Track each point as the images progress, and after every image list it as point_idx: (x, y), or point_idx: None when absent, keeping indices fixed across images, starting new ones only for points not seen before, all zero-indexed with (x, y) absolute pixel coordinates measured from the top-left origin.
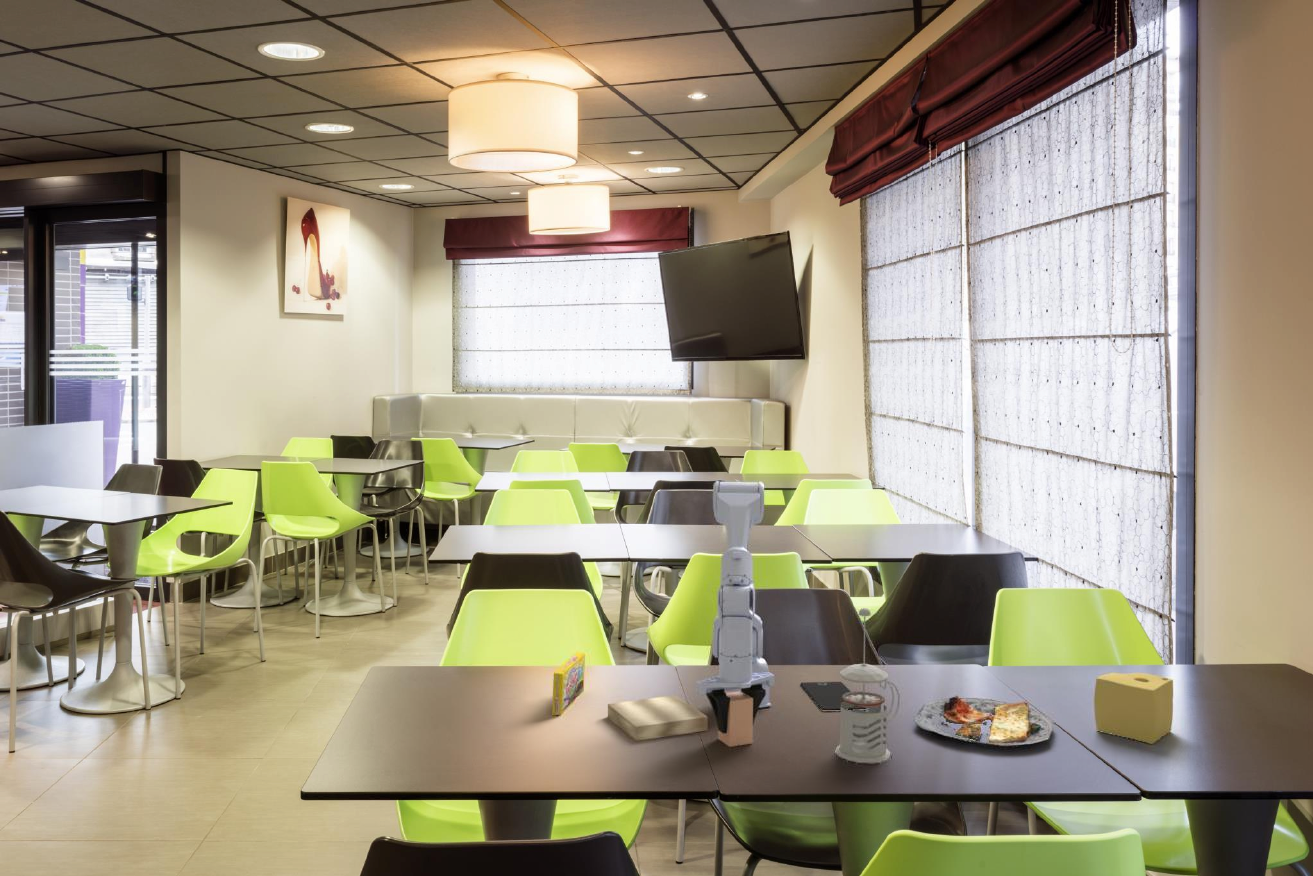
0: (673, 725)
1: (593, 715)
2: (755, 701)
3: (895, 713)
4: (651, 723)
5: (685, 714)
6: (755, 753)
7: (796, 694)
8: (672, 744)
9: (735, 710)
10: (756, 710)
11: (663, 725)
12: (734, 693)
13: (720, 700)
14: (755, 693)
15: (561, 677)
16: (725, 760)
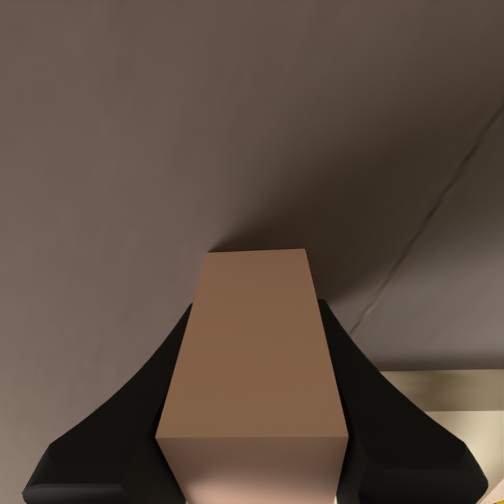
0: (420, 398)
1: None
2: (143, 411)
3: None
4: (501, 416)
5: None
6: (239, 152)
7: (3, 461)
8: (464, 321)
9: (294, 370)
10: (151, 364)
11: (458, 402)
12: (240, 498)
13: (465, 453)
14: (124, 476)
15: None
16: (412, 114)
